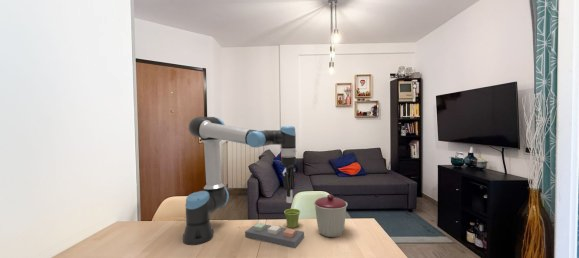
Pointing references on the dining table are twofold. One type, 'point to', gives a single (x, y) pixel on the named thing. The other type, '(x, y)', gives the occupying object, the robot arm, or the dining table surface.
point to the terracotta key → (289, 233)
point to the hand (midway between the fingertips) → (289, 202)
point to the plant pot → (292, 217)
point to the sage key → (259, 227)
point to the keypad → (275, 237)
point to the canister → (330, 215)
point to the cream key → (274, 229)
